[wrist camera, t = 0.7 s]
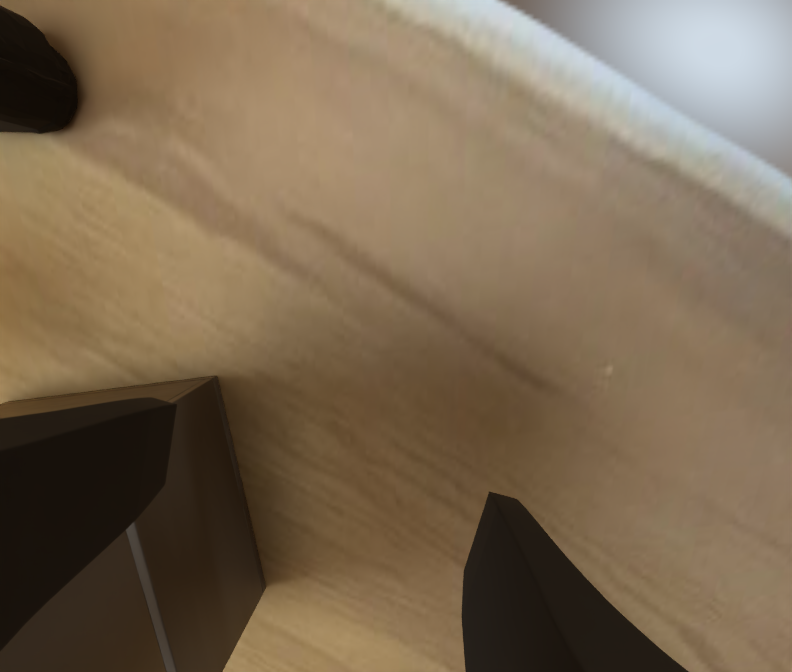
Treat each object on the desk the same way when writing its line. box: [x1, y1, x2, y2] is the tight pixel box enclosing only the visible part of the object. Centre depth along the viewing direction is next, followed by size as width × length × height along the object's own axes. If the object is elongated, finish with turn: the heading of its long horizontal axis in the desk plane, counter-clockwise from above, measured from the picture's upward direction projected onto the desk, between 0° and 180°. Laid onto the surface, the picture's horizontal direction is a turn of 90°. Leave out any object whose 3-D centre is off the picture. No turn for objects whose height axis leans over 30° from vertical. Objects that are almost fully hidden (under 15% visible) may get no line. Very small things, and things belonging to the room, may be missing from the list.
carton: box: [0, 376, 266, 672], centre depth 20 cm, size 11×11×7 cm
